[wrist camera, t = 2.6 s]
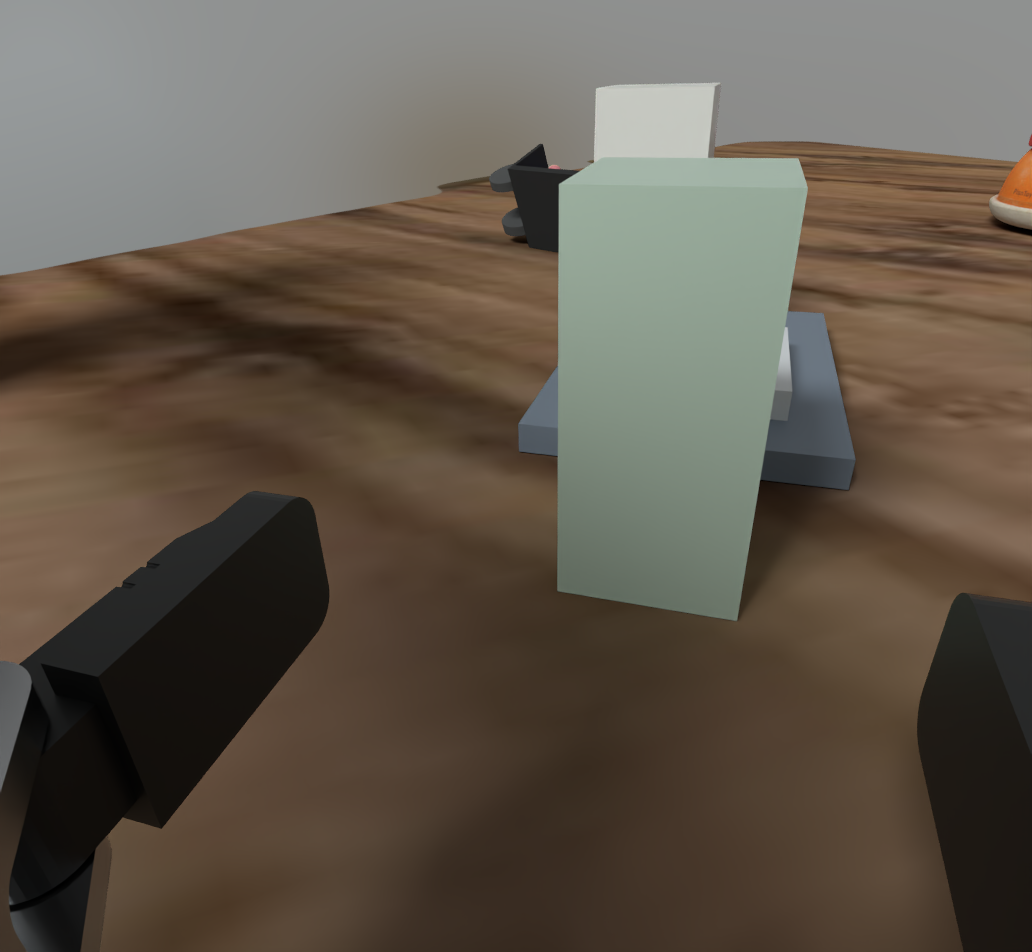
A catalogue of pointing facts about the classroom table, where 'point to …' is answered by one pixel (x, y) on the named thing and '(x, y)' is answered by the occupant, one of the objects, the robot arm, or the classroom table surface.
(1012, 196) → the stacking toy
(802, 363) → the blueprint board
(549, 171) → the character figurine
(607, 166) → the sage pillar
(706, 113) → the standing pillar
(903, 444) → the classroom table surface
